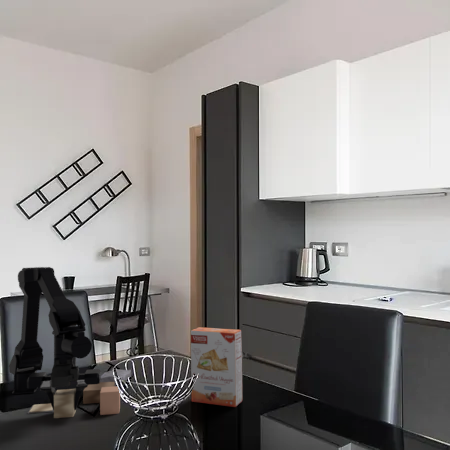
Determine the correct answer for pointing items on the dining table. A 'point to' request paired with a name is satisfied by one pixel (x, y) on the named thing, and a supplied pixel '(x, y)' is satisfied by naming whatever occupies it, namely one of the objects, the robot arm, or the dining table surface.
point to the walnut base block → (95, 392)
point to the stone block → (121, 373)
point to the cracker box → (216, 366)
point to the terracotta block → (109, 400)
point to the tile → (40, 408)
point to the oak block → (64, 403)
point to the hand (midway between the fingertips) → (65, 410)
